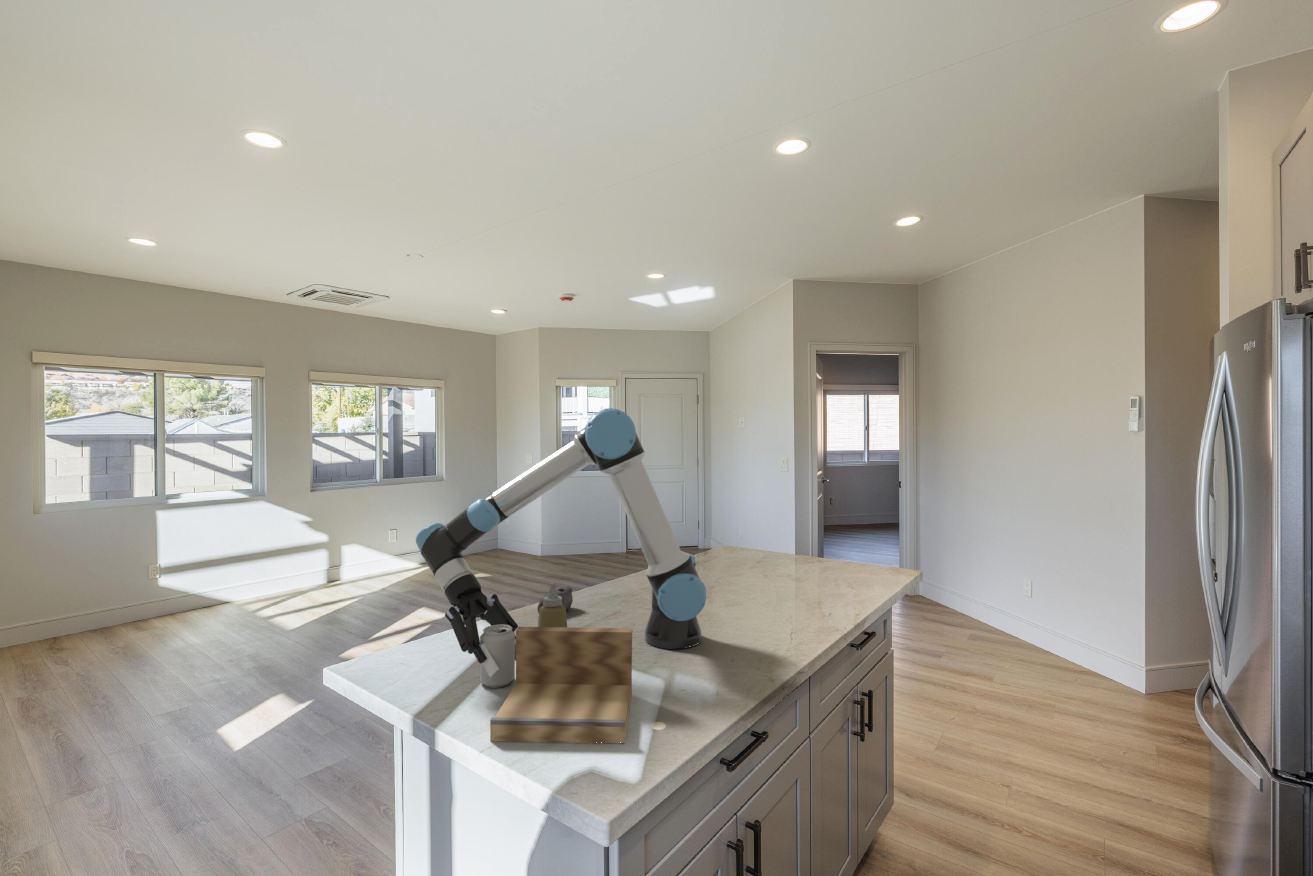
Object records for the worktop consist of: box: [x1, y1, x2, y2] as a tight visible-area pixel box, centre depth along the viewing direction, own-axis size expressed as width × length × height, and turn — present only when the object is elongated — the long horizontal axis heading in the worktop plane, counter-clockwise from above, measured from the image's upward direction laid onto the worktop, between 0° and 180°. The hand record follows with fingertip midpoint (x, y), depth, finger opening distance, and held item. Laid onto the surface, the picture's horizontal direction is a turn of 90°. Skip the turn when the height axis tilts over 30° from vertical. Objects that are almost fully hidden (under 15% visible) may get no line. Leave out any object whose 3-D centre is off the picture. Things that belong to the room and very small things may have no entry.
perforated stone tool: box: [537, 586, 574, 614], centre depth 181 cm, size 15×5×7 cm, turn 147°
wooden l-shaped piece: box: [489, 626, 633, 744], centre depth 115 cm, size 24×20×14 cm
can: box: [479, 624, 516, 689], centre depth 130 cm, size 8×8×12 cm
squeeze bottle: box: [537, 582, 568, 627], centre depth 146 cm, size 8×8×18 cm
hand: (508, 667), depth 129 cm, fingers closed on can, 7 cm apart
